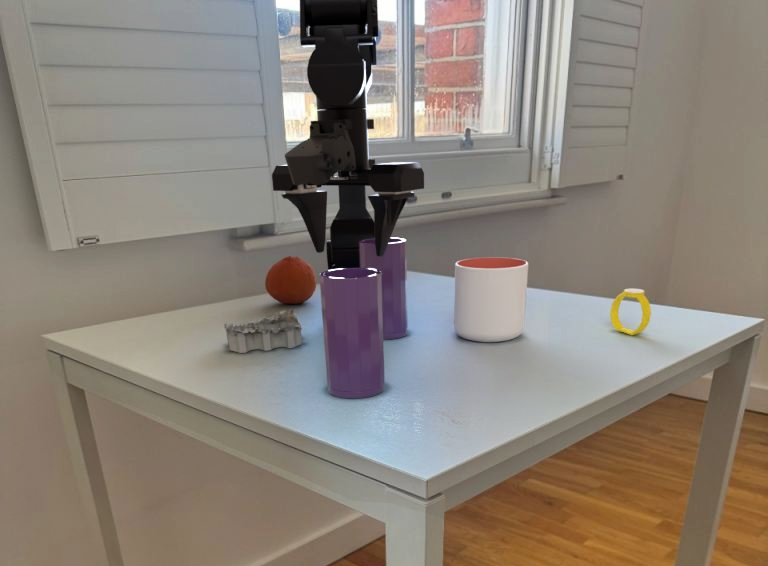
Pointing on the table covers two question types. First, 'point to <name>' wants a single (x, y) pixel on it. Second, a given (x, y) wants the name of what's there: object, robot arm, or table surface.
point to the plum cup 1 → (353, 331)
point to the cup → (490, 298)
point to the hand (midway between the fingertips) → (349, 254)
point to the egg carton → (265, 333)
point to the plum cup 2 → (389, 282)
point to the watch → (644, 304)
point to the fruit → (291, 281)
